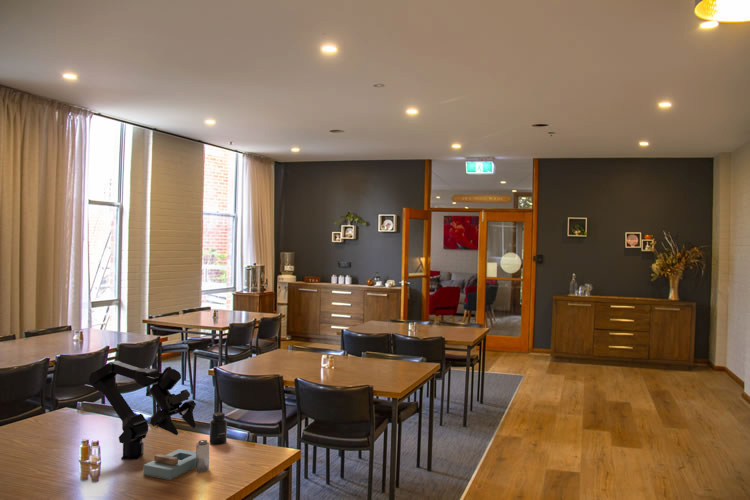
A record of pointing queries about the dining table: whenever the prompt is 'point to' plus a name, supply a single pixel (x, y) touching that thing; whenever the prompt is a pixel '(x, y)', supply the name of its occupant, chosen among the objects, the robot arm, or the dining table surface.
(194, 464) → the socket
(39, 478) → the dining table surface
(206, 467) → the grey cylindrical piece
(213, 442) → the supplement bottle
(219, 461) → the dining table surface
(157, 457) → the lock bar
